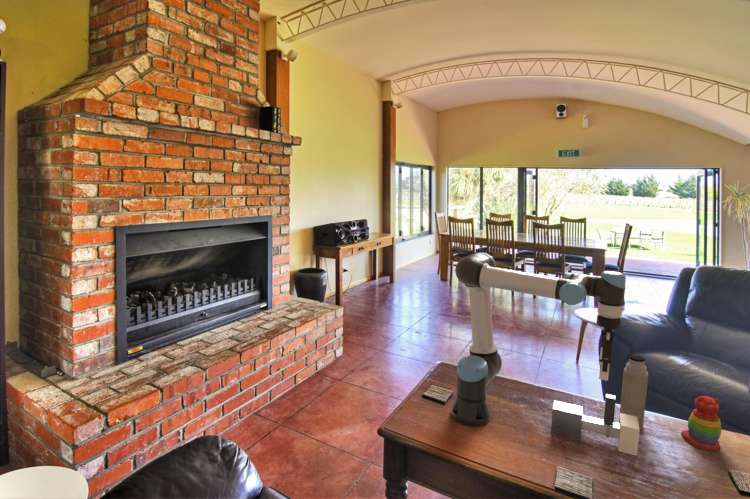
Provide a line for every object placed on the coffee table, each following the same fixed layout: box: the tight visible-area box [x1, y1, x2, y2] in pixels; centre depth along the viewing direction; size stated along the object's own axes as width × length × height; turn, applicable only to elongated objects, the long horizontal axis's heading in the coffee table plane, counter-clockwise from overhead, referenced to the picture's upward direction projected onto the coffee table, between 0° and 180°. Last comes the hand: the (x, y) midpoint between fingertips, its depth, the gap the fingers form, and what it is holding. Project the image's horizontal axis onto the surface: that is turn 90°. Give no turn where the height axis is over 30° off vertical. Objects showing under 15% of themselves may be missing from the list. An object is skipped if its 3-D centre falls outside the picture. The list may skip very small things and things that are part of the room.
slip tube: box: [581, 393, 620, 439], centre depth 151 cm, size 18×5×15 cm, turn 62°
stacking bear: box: [680, 395, 722, 452], centre depth 149 cm, size 11×10×18 cm
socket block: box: [616, 412, 641, 456], centre depth 147 cm, size 6×9×10 cm, turn 152°
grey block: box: [550, 399, 584, 441], centre depth 156 cm, size 10×7×10 cm
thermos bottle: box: [619, 354, 649, 432], centre depth 159 cm, size 8×8×28 cm
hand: (603, 371), depth 150 cm, fingers open, 13 cm apart
